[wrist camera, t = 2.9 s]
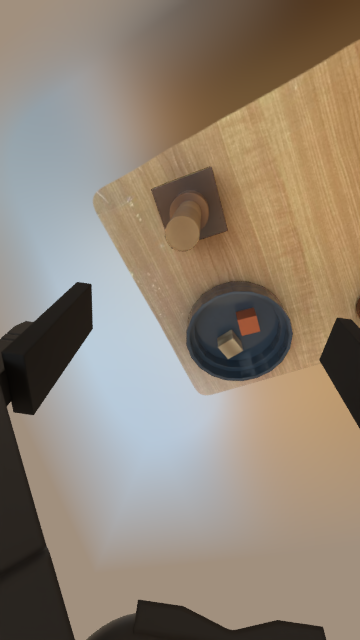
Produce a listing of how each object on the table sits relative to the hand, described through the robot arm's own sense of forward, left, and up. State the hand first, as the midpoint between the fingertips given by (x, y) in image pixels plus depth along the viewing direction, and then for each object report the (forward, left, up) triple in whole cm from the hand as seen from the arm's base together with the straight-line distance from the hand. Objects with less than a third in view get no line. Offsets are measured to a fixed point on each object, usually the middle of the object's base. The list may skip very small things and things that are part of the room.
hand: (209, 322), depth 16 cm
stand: (-1, +3, -39) cm, 39 cm away
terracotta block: (+2, -21, -38) cm, 43 cm away
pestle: (-1, +3, -27) cm, 27 cm away
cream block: (-2, -25, -38) cm, 45 cm away
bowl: (0, -22, -39) cm, 44 cm away
